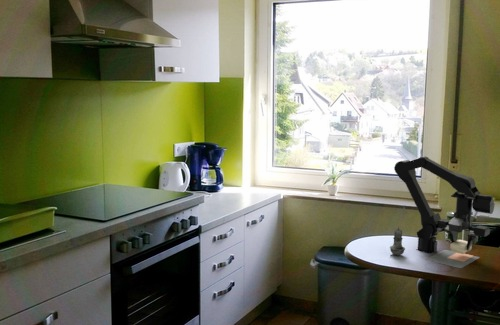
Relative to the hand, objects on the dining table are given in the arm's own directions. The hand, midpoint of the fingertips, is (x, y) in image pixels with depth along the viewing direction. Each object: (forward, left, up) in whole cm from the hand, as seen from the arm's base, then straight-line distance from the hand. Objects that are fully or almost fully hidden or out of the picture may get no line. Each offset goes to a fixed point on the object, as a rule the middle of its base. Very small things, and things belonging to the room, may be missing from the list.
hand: (460, 248), depth 203 cm
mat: (-1, -4, -4) cm, 6 cm away
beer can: (-13, +23, -4) cm, 27 cm away
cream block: (0, 0, -1) cm, 1 cm away
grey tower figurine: (-18, -16, -4) cm, 25 cm away
